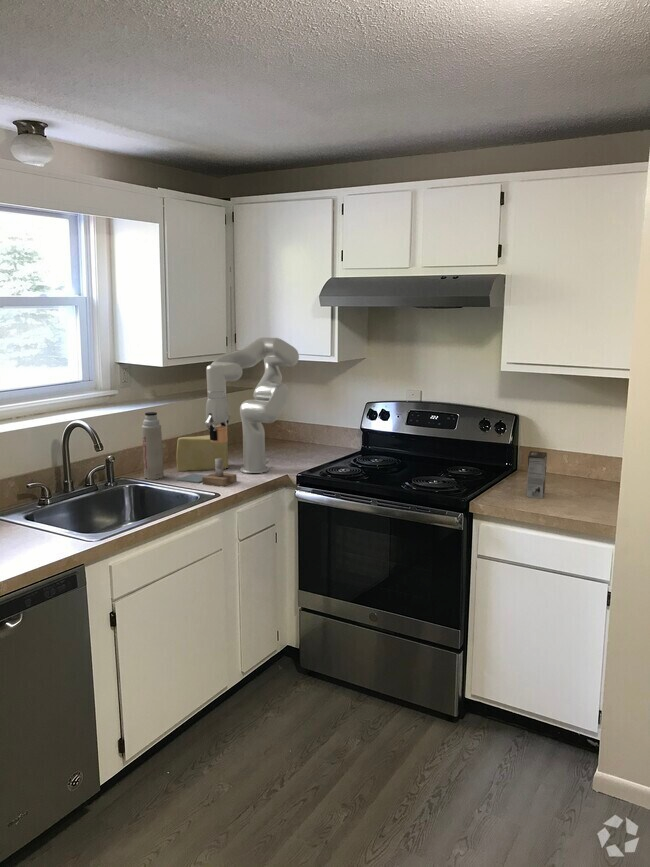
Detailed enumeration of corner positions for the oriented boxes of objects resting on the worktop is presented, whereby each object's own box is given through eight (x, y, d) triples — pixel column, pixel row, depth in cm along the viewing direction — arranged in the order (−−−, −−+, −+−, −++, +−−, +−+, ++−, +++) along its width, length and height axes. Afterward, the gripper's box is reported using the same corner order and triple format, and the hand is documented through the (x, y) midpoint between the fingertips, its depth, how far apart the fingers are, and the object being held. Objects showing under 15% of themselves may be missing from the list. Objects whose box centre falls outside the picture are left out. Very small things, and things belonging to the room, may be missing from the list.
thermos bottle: (145, 480, 303) (142, 414, 298) (143, 476, 310) (139, 411, 305) (164, 478, 306) (161, 413, 300) (162, 474, 313) (159, 410, 308)
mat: (192, 474, 312) (192, 473, 311) (213, 477, 307) (213, 476, 307) (176, 480, 302) (176, 479, 302) (198, 483, 297) (198, 481, 297)
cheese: (178, 473, 314) (177, 440, 312) (175, 468, 323) (174, 436, 321) (228, 469, 322) (227, 436, 319) (224, 464, 331) (223, 432, 328)
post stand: (216, 478, 304) (215, 455, 303) (236, 481, 300) (235, 457, 298) (202, 484, 296) (201, 460, 294) (222, 486, 291) (222, 462, 289)
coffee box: (528, 491, 282) (530, 450, 279) (545, 492, 279) (547, 452, 277) (525, 497, 273) (527, 455, 271) (543, 498, 271) (545, 456, 268)
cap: (230, 440, 296) (229, 426, 295) (221, 443, 291) (221, 428, 290) (216, 439, 299) (216, 425, 298) (208, 442, 293) (207, 427, 292)
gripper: (221, 391, 300) (223, 434, 304) (196, 397, 285) (198, 441, 289) (236, 392, 297) (238, 435, 301) (212, 398, 282) (214, 443, 285)
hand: (218, 438), depth 295 cm, fingers closed on cap, 6 cm apart
